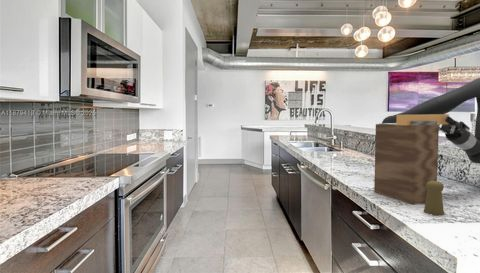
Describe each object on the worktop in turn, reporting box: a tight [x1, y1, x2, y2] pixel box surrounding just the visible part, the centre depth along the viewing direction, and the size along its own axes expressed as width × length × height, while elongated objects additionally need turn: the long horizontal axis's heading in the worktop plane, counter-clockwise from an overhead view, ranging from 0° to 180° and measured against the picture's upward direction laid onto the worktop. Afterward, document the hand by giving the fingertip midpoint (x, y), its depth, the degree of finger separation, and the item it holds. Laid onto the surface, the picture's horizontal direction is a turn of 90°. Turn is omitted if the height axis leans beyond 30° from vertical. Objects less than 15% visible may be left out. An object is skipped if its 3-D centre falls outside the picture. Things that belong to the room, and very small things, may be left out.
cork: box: [423, 180, 445, 216], centre depth 107 cm, size 6×6×11 cm
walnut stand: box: [373, 121, 440, 205], centre depth 128 cm, size 12×20×32 cm, turn 18°
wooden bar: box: [396, 113, 450, 126], centre depth 123 cm, size 22×4×4 cm, turn 108°
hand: (436, 118), depth 125 cm, fingers open, 8 cm apart
